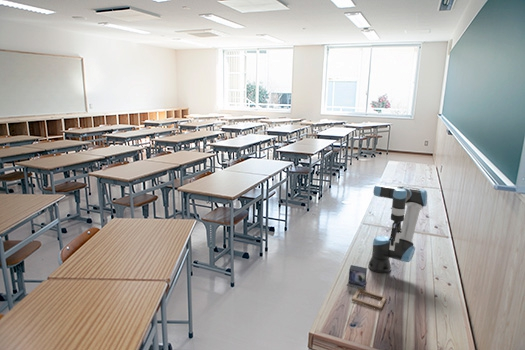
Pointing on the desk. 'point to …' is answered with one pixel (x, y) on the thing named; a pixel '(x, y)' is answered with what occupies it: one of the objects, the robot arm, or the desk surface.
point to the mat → (356, 286)
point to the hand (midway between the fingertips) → (394, 246)
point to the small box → (357, 275)
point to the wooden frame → (378, 307)
